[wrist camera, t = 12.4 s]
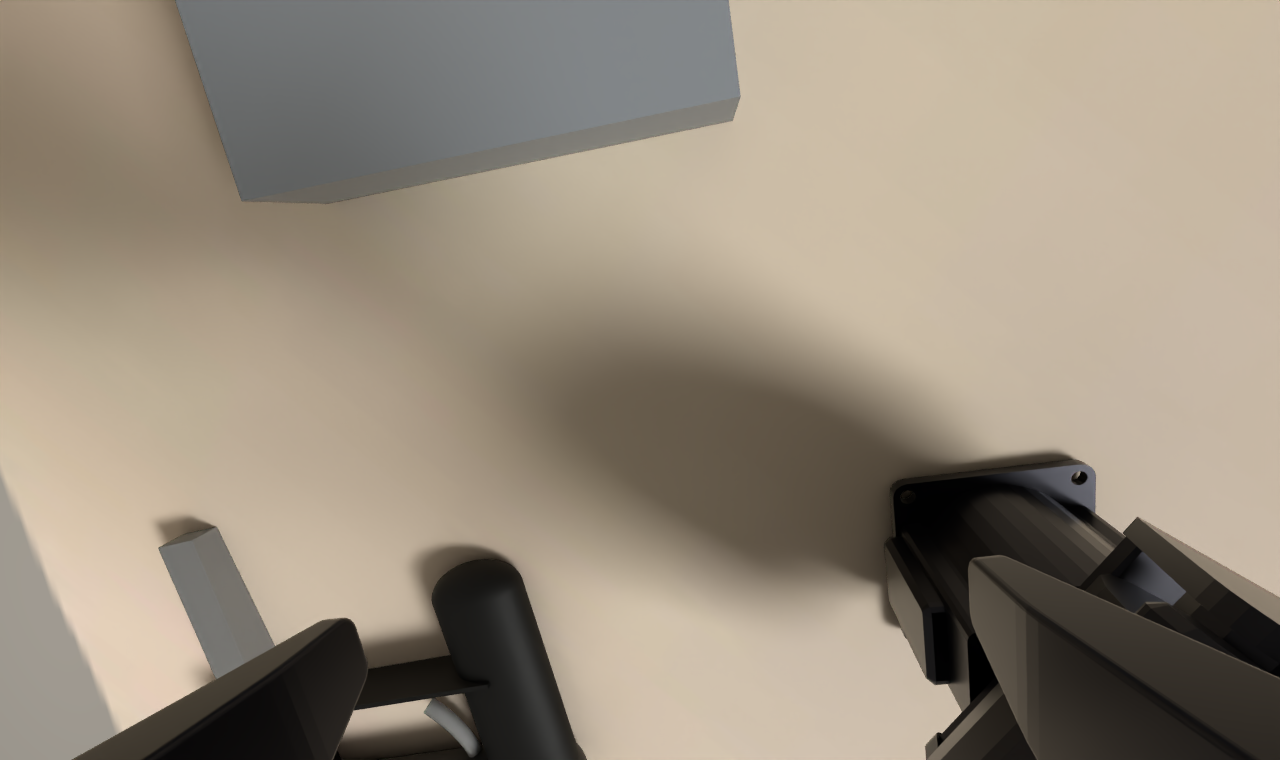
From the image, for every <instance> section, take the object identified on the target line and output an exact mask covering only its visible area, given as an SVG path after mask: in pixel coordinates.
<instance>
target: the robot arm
mask: <svg viewBox="0 0 1280 760" xmlns="http://www.w3.org/2000/svg"><path fill="white" fill-rule="evenodd" d="M1078 471H1080V472H1081V473H1080V476H1079V477H1078V478H1077V479H1074V480H1071V478H1072V475H1073V474H1074V473H1075V472H1078ZM907 490H908V491H912V493H911V495H910V496H909V497H908V498H905V499H903V498H900V497H901V494H902V493H903V492H904V491H907ZM1095 492H1096V475H1095V471H1094V470H1093V469H1092V468H1091V467H1090V466H1088V465H1087V464H1085V463H1084V462H1082V461H1079V460H1066V461H1057V462H1049V463H1040V464H1031V465H1022V466H1014V467H1005V468H996V469H988V470H979V471H970V472H961V473H953V474H944V475H935V476H927V477H918V478H909V479H902V480H899V481H897V482H895V483H894V484H893V485H892V487H891V488H890V505H891V518H892V531H893V537H889V538H888V539H887V541H886V542H885V544H884V549H885V561H886V573H887V585H888V597H889V602H890V605H891V607H892V609H893V611H894V613H895V615H896V617H897V619H898V621H899V623H900V627H901V630H902V632H903V634H904V636H905V638H906V639H907V640H908V642H909V644H910V646H911V648H912V650H913V652H914V654H915V656H916V658H917V660H918V663H919V665H920V667H921V669H922V671H923V673H924V675H925V677H926V678H927V679H928V680H929V681H930V682H932V683H933V684H934V685H941V684H948V686H949V687H950V689H951V691H952V693H953V695H954V697H955V699H956V701H957V703H958V705H959V707H960V709H961V710H962V713H961V714H960V715H959V716H958V717H957V718H956V719H955V720H954V722H953V723H952V724H951V725H950V726H949V727H948V728H947V729H946V730H945V731H944V732H943V733H936V735H935V736H934V737H933V738H932V739H931V740H930V741H929V742H928V743H927V744H926V746H925V749H926V760H1280V598H1279V597H1278V596H1276V595H1274V594H1272V593H1271V592H1269V591H1267V590H1265V589H1264V588H1262V587H1260V586H1258V585H1257V584H1255V583H1253V582H1251V581H1250V580H1248V579H1246V578H1244V577H1243V576H1241V575H1239V574H1237V573H1236V572H1234V571H1232V570H1230V569H1229V568H1227V567H1225V566H1223V565H1221V564H1220V563H1218V562H1216V561H1214V560H1213V559H1211V558H1209V557H1207V556H1206V555H1204V554H1202V553H1200V552H1199V551H1197V550H1195V549H1193V548H1192V547H1190V546H1188V545H1186V544H1185V543H1183V542H1181V541H1179V540H1178V539H1176V538H1174V537H1172V536H1171V535H1169V534H1167V533H1165V532H1163V531H1162V530H1160V529H1158V528H1156V527H1155V526H1153V525H1151V524H1149V523H1148V522H1146V521H1144V520H1142V519H1141V518H1139V517H1137V518H1136V519H1135V520H1134V521H1133V522H1132V523H1131V524H1130V525H1129V526H1128V528H1127V529H1126V530H1125V531H1124V532H1123V534H1124V535H1125V536H1126V537H1125V536H1124V535H1123V534H1122V533H1120V532H1119V531H1118V530H1116V529H1115V528H1114V527H1112V526H1111V525H1110V524H1108V523H1107V522H1106V521H1104V520H1103V519H1102V518H1101V517H1099V516H1098V515H1097V514H1095ZM367 673H368V662H367V659H366V656H365V653H364V650H363V647H362V644H361V641H360V638H359V635H358V632H357V629H356V627H355V624H354V623H353V622H352V621H351V620H350V619H348V618H337V619H327V620H322V621H320V622H318V623H316V624H314V625H312V626H311V627H309V628H307V629H305V630H304V631H302V632H300V633H298V634H296V635H295V636H293V637H291V638H289V639H287V640H286V641H284V642H282V643H280V644H278V645H277V646H275V647H273V648H271V649H269V650H268V651H266V652H264V653H262V654H260V655H259V656H257V657H255V658H253V659H251V660H250V661H248V662H246V663H244V664H243V665H241V666H239V667H237V668H235V669H234V670H232V671H230V672H228V673H226V674H225V675H223V676H221V677H219V678H217V679H216V680H214V681H212V682H210V683H208V684H207V685H205V686H203V687H201V688H199V689H198V690H196V691H194V692H192V693H190V694H189V695H187V696H185V697H183V698H181V699H180V700H178V701H176V702H174V703H173V704H171V705H169V706H167V707H165V708H164V709H162V710H160V711H158V712H156V713H155V714H153V715H151V716H149V717H147V718H146V719H144V720H142V721H140V722H138V723H137V724H135V725H133V726H131V727H129V728H128V729H126V730H124V731H122V732H120V733H119V734H117V735H115V736H113V737H112V738H110V739H108V740H106V741H104V742H103V743H101V744H99V745H97V746H95V747H94V748H92V749H90V750H88V751H86V752H85V753H83V754H81V755H79V756H77V757H76V758H74V759H72V760H333V759H334V756H335V754H336V751H337V749H338V747H339V744H340V742H341V739H342V737H343V734H344V732H345V730H346V727H347V725H348V722H349V720H350V717H351V715H352V713H353V710H354V708H355V705H356V703H357V701H358V698H359V696H360V693H361V691H362V688H363V686H364V684H365V681H366V678H367Z"/></svg>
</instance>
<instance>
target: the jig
mask: <svg viewBox="0 0 1280 760" xmlns="http://www.w3.org/2000/svg"><path fill="white" fill-rule="evenodd" d="M175 1H176V4H177V7H178V11H179V14H180V17H181V20H182V23H183V26H184V29H185V32H186V35H187V38H188V41H189V44H190V47H191V50H192V53H193V56H194V59H195V62H196V65H197V68H198V71H199V74H200V77H201V80H202V83H203V86H204V89H205V92H206V95H207V98H208V101H209V104H210V107H211V110H212V113H213V116H214V119H215V122H216V125H217V128H218V131H219V134H220V137H221V140H222V143H223V146H224V149H225V152H226V155H227V158H228V161H229V164H230V168H231V171H232V174H233V177H234V180H235V183H236V186H237V189H238V192H239V195H240V198H241V201H249V202H285V203H320V204H328V203H333V202H338V201H343V200H348V199H353V198H358V197H363V196H367V195H372V194H377V193H382V192H387V191H392V190H397V189H402V188H407V187H411V186H416V185H421V184H426V183H431V182H436V181H441V180H446V179H450V178H455V177H460V176H465V175H470V174H475V173H480V172H485V171H490V170H494V169H499V168H504V167H509V166H514V165H519V164H524V163H529V162H534V161H538V160H543V159H548V158H553V157H558V156H563V155H568V154H573V153H577V152H582V151H587V150H592V149H597V148H602V147H607V146H612V145H617V144H621V143H626V142H631V141H636V140H641V139H646V138H651V137H656V136H661V135H665V134H670V133H675V132H680V131H685V130H690V129H695V128H700V127H704V126H709V125H714V124H719V123H724V122H729V121H733V118H734V115H735V112H736V109H737V106H738V103H739V100H740V89H739V81H738V73H737V65H736V57H735V48H734V40H733V32H732V24H731V16H730V8H729V0H175Z"/></svg>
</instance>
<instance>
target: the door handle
mask: <svg viewBox="0 0 1280 760" xmlns="http://www.w3.org/2000/svg"><path fill="white" fill-rule="evenodd" d="M158 549H159V551H160V553H161V556H162V558H163V560H164V562H165V565H166V567H167V569H168V571H169V574H170V576H171V578H172V581H173V583H174V585H175V587H176V590H177V592H178V594H179V596H180V599H181V601H182V603H183V606H184V608H185V610H186V612H187V615H188V617H189V619H190V621H191V624H192V626H193V628H194V630H195V633H196V635H197V637H198V640H199V642H200V644H201V646H202V649H203V651H204V653H205V655H206V658H207V660H208V662H209V664H210V667H211V669H212V671H213V674H214V676H215V678H216V679H217V678H219V677H221V676H223V675H225V674H226V673H228V672H230V671H232V670H234V669H235V668H237V667H239V666H241V665H243V664H244V663H246V662H248V661H250V660H251V659H253V658H255V657H257V656H259V655H260V654H262V653H264V652H266V651H268V650H269V649H271V648H273V647H275V645H274V643H273V641H272V639H271V637H270V635H269V633H268V630H267V628H266V626H265V624H264V622H263V620H262V618H261V616H260V614H259V612H258V610H257V608H256V606H255V604H254V602H253V600H252V598H251V596H250V594H249V592H248V590H247V588H246V586H245V583H244V581H243V579H242V577H241V575H240V573H239V571H238V569H237V567H236V565H235V563H234V561H233V559H232V557H231V555H230V553H229V551H228V549H227V547H226V545H225V543H224V541H223V539H222V536H221V534H220V532H219V530H218V528H217V527H214V528H209V529H205V530H200V531H196V532H191V533H187V534H183V535H181V536H180V537H178V538H176V539H174V540H172V541H170V542H168V543H166V544H165V545H163V546H161V547H159V548H158ZM432 604H433V607H434V610H435V613H436V615H437V618H438V621H439V624H440V627H441V629H442V632H443V635H444V638H445V640H446V643H447V646H448V649H449V652H450V654H451V655H448V656H442V657H436V658H431V659H425V660H419V661H413V662H407V663H401V664H395V665H390V666H384V667H378V668H372V669H368V673H367V678H366V681H365V684H364V686H363V688H362V691H361V693H360V696H359V698H358V701H357V703H356V705H355V708H354V710H359V709H366V708H372V707H378V706H385V705H391V704H397V703H404V702H410V701H416V700H422V699H429V698H433V699H432V700H431V702H430V703H429V705H428V706H427V708H426V710H425V711H424V714H426V715H427V716H429V717H430V718H432V719H433V720H434V721H436V722H437V723H438V724H440V725H441V726H442V727H443V728H444V729H446V730H447V731H448V732H449V733H450V734H451V735H452V736H453V737H454V738H455V739H456V740H457V741H458V742H459V743H460V744H461V746H462V747H463V748H457V749H450V750H443V751H436V752H429V753H422V754H415V755H408V756H401V757H394V758H387V759H380V760H587V759H586V756H585V754H584V752H583V750H582V749H581V748H580V746H579V745H578V744H577V743H576V742H575V738H574V735H573V732H572V729H571V726H570V723H569V720H568V717H567V714H566V711H565V708H564V705H563V702H562V699H561V696H560V693H559V690H558V687H557V683H556V680H555V677H554V674H553V671H552V668H551V665H550V662H549V659H548V656H547V653H546V650H545V647H544V644H543V641H542V638H541V635H540V631H539V628H538V625H537V622H536V619H535V616H534V613H533V610H532V607H531V604H530V601H529V598H528V595H527V592H526V589H525V586H524V583H523V580H522V577H521V575H520V573H519V572H518V571H517V570H516V569H515V568H514V567H513V566H511V565H509V564H507V563H505V562H502V561H498V560H491V559H483V560H475V561H470V562H467V563H464V564H461V565H459V566H457V567H455V568H453V569H451V570H450V571H449V572H447V573H446V574H445V575H444V576H443V577H442V578H441V579H440V580H439V581H438V582H437V584H436V586H435V588H434V590H433V593H432ZM460 693H465V696H466V699H467V702H468V705H469V707H470V710H471V713H472V716H473V718H474V721H475V724H476V727H477V730H478V732H479V735H480V738H481V741H482V743H483V745H480V743H479V741H478V740H477V738H476V736H475V735H474V734H473V732H472V731H471V730H470V728H469V727H468V726H467V725H466V724H465V723H464V722H463V721H462V720H461V719H460V718H459V717H458V716H457V715H456V714H455V713H454V712H453V711H451V710H450V709H449V708H448V707H447V706H445V705H444V704H443V703H441V702H440V701H438V700H437V699H435V697H441V696H448V695H454V694H460ZM333 760H342V759H341V757H340V755H339V752H338V750H337V751H336V754H335V756H334V759H333Z"/></svg>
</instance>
